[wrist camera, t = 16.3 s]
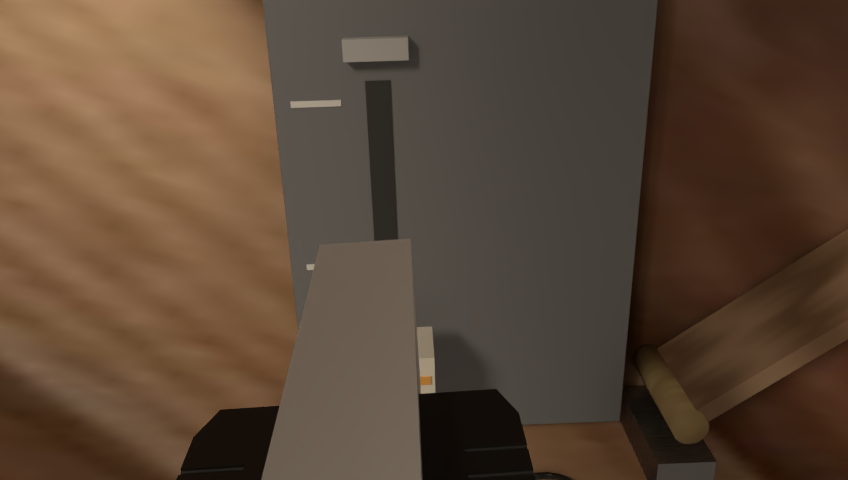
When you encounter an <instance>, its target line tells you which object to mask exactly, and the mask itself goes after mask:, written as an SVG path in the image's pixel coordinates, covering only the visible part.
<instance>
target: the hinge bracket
mask: <svg viewBox="0 0 848 480" xmlns="http://www.w3.org/2000/svg"><path fill="white" fill-rule="evenodd" d="M620 421H621V423H622V426H623V428H624V430H625V432H626V434H627V436H628V439H629V441H630V443H631V445H632V447H633V449H634V452H635V454H636V456H637V458H638V460H639V462H640V465H641V467H642V469H643V471H644V473H645V475H646V478H647V480H714V476H715V469H716V463H717V462H716V460H715V458H714V457H713V455H712V453H711V452H710V450H709V448H708V447H707V445H706V444H705V442H704V440H703V439H702V440H701V441H699V442H697V443H694V444H683V443H681V442H679V441H677V440H676V438H675V437H674V435H673V433H672V431H671V430H670V428H669V426H668V424H667V423H666V421H665V419H664V417H663V415H662V414H661V412H660V410H659V408H658V406H657V405H656V403H655V401H654V399H653V397H652V396H651V394H650V392H649V390H648V389H647V387H646V386H623V389H622V400H621V411H620Z"/></svg>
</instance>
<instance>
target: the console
mask: <svg viewBox="0 0 848 480" xmlns="http://www.w3.org/2000/svg"><path fill="white" fill-rule="evenodd" d="M657 3H658V0H263V8H264V17H265V27H266V36H267V45H268V55H269V64H270V73H271V82H272V92H273V101H274V110H275V119H276V129H277V138H278V147H279V157H280V166H281V175H282V184H283V194H284V203H285V212H286V221H287V231H288V240H289V249H290V259H291V268H292V277H293V286H294V296H295V305H296V314H297V323H298V330H299V326H300V322H301V318H302V314H303V310H304V306H305V302H306V298H307V294H308V290H309V286H310V282H311V278H312V274H313V270H314V265H315V261H316V257H317V253H318V249H319V245H320V244H335V243H350V242H366V241H381V240H397V239H411V251H412V266H413V281H414V295H415V310H416V325H417V327H432V332H433V346H434V360H435V393H440V392H455V391H471V390H486V389H497V390H498V391H499V392H500V393H501V394H502V395H503V397H504V398H505V399H506V400H507V401H508V402H509V403H510V404H511V405H512V406H513V407H514V408H515V409H516V410H517V411H518V413H519V415H520V419H521V423H522V425H531V424H556V423H581V422H606V421H620V411H621V400H622V389H623V377H624V366H625V355H626V344H627V333H628V322H629V311H630V300H631V289H632V278H633V267H634V256H635V245H636V234H637V223H638V212H639V201H640V190H641V179H642V168H643V157H644V146H645V135H646V124H647V113H648V102H649V91H650V80H651V69H652V58H653V47H654V36H655V25H656V14H657Z"/></svg>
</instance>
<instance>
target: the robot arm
mask: <svg viewBox="0 0 848 480" xmlns="http://www.w3.org/2000/svg"><path fill="white" fill-rule="evenodd" d="M176 480H536V478H535V475H534V474H533V467H532V463H531V459H530V455H529V451H528V449H527V443H526V439H525V435H524V431H523V427H522V423H521V419H520V415H519V413H518V411H517V410H516V409H515V408H514V407H513V406H512V405H511V404H510V403H509V402H508V401H507V400H506V399H505V398H504V397H503V395H502V394H501V393H500V392H499V391H498V390H497V389H486V390H471V391H455V392H440V393H425V394H421V386H420V369H419V354H418V339H417V325H416V310H415V295H414V281H413V266H412V251H411V239H397V240H381V241H366V242H350V243H335V244H320V245H319V249H318V253H317V257H316V261H315V265H314V270H313V274H312V278H311V282H310V286H309V290H308V294H307V298H306V302H305V306H304V310H303V314H302V318H301V322H300V326H299V330H298V334H297V338H296V342H295V346H294V350H293V354H292V358H291V362H290V366H289V370H288V374H287V378H286V382H285V386H284V390H283V394H282V398H281V402H280V406H270V407H255V408H240V409H225V410H220V411H219V412H218V413H217V414H216V415H215V416H214V417H213V418H212V419H211V420H210V421H209V422H208V423H207V424H206V425H205V426H204V427H203V428H202V429H201V430H200V431H199V432H198V433H197V434H196V435H195V436H194V437H193V440H192V442H191V445H190V447H189V450H188V452H187V455H186V457H185V460H184V462H183V465H182V467H181V475H178V477H177V479H176Z"/></svg>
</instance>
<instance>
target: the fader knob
mask: <svg viewBox="0 0 848 480" xmlns="http://www.w3.org/2000/svg"><path fill="white" fill-rule="evenodd" d="M417 339H418V354H419V369H420V386H421V394H425V393H435V360H434V346H433V332H432V327H417Z"/></svg>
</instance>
